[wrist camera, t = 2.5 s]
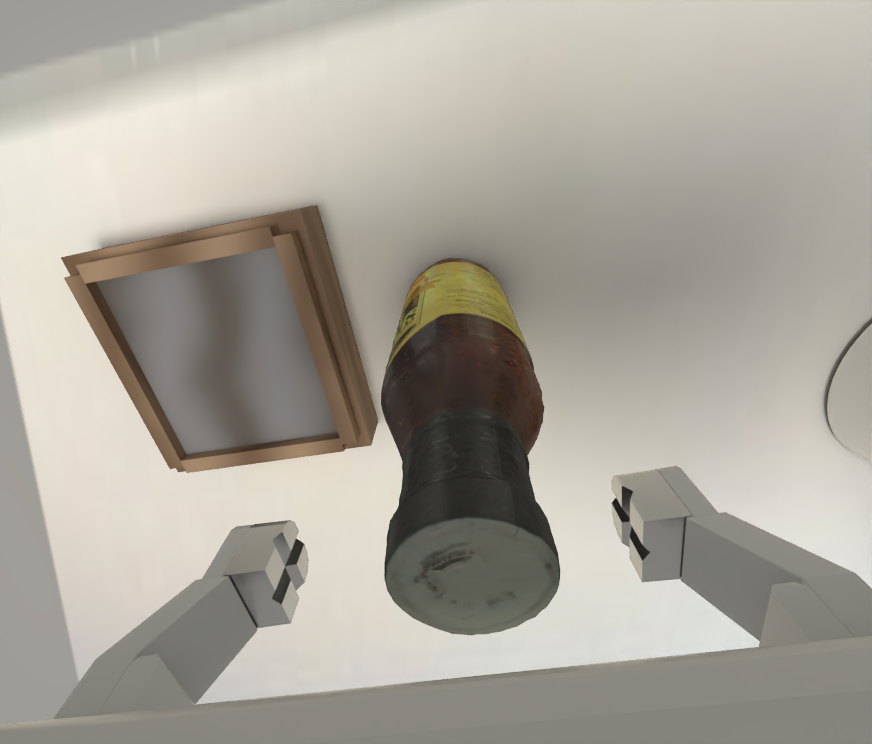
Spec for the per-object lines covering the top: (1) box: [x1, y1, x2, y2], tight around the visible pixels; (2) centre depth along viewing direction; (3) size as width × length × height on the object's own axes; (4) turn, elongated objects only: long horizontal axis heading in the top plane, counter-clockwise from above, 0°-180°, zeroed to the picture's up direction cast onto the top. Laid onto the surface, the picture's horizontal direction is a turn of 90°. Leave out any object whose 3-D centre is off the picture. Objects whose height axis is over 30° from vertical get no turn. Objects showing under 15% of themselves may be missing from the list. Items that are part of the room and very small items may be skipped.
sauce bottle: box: [381, 259, 560, 635], centre depth 18 cm, size 7×6×20 cm
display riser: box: [61, 205, 378, 473], centre depth 27 cm, size 14×15×4 cm
